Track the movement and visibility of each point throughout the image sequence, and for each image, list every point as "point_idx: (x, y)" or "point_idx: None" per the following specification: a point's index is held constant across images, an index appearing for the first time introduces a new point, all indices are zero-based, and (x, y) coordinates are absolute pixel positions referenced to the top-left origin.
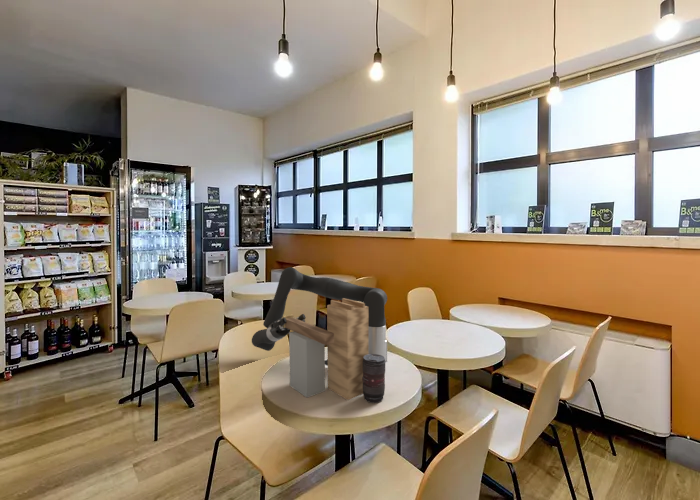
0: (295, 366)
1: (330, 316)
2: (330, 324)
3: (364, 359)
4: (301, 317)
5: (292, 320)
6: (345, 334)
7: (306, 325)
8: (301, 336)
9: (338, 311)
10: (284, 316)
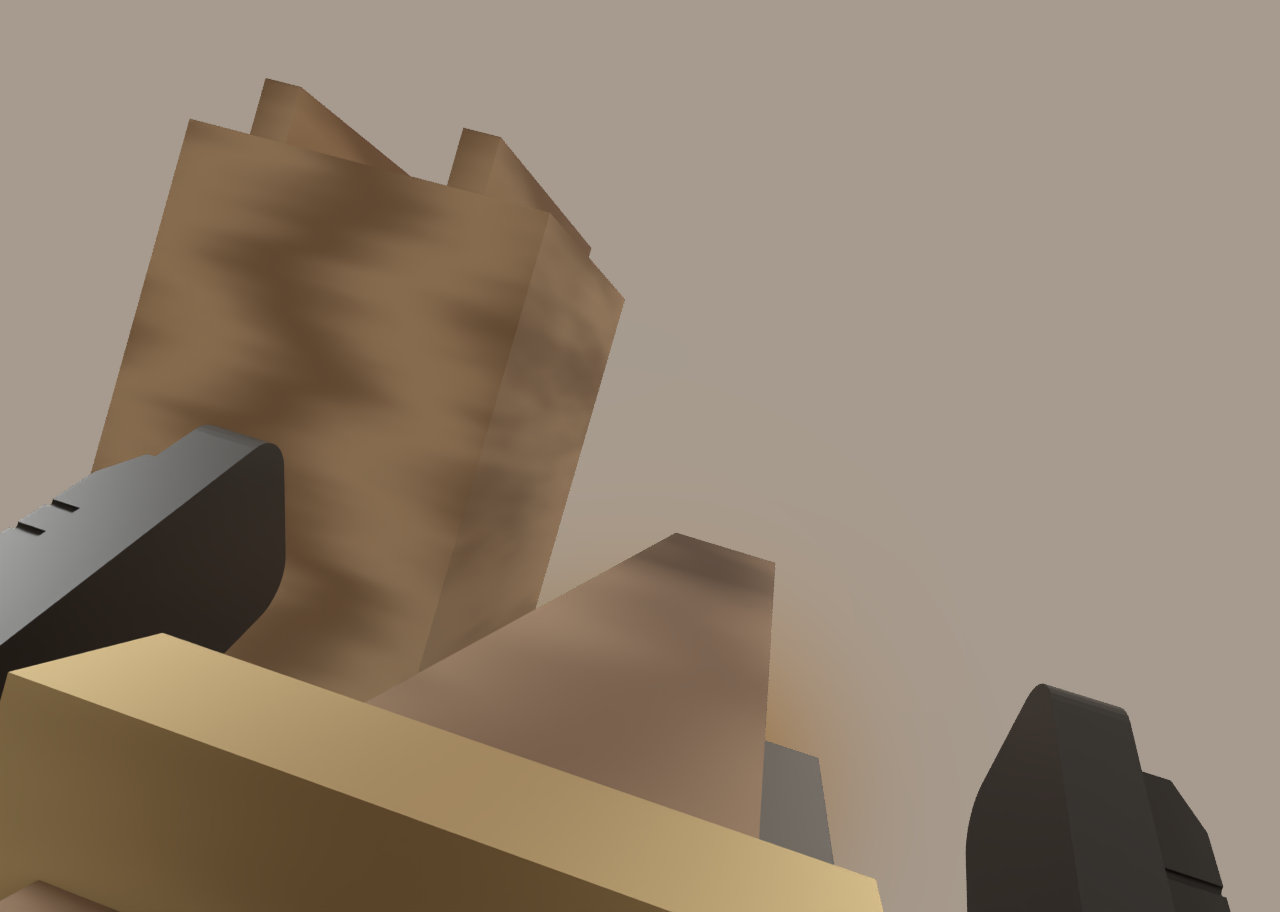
0: None
1: (528, 374)
2: (497, 482)
3: None
4: (192, 591)
5: (661, 748)
6: (552, 525)
7: (700, 606)
8: (781, 809)
9: (591, 305)
10: (807, 890)
